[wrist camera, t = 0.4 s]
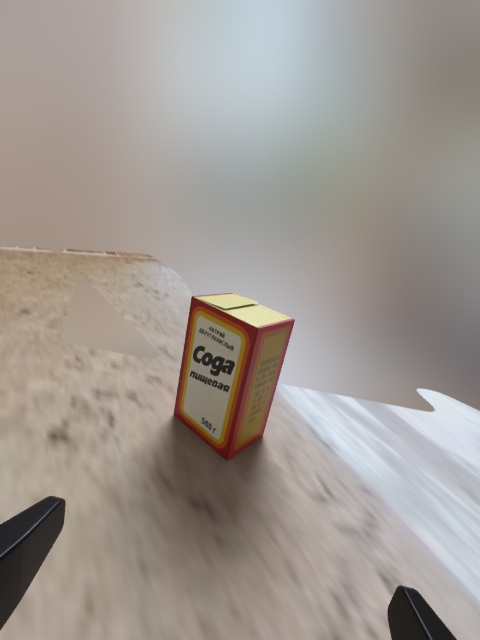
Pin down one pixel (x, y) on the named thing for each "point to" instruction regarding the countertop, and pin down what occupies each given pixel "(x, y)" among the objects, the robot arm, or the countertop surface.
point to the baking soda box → (230, 369)
